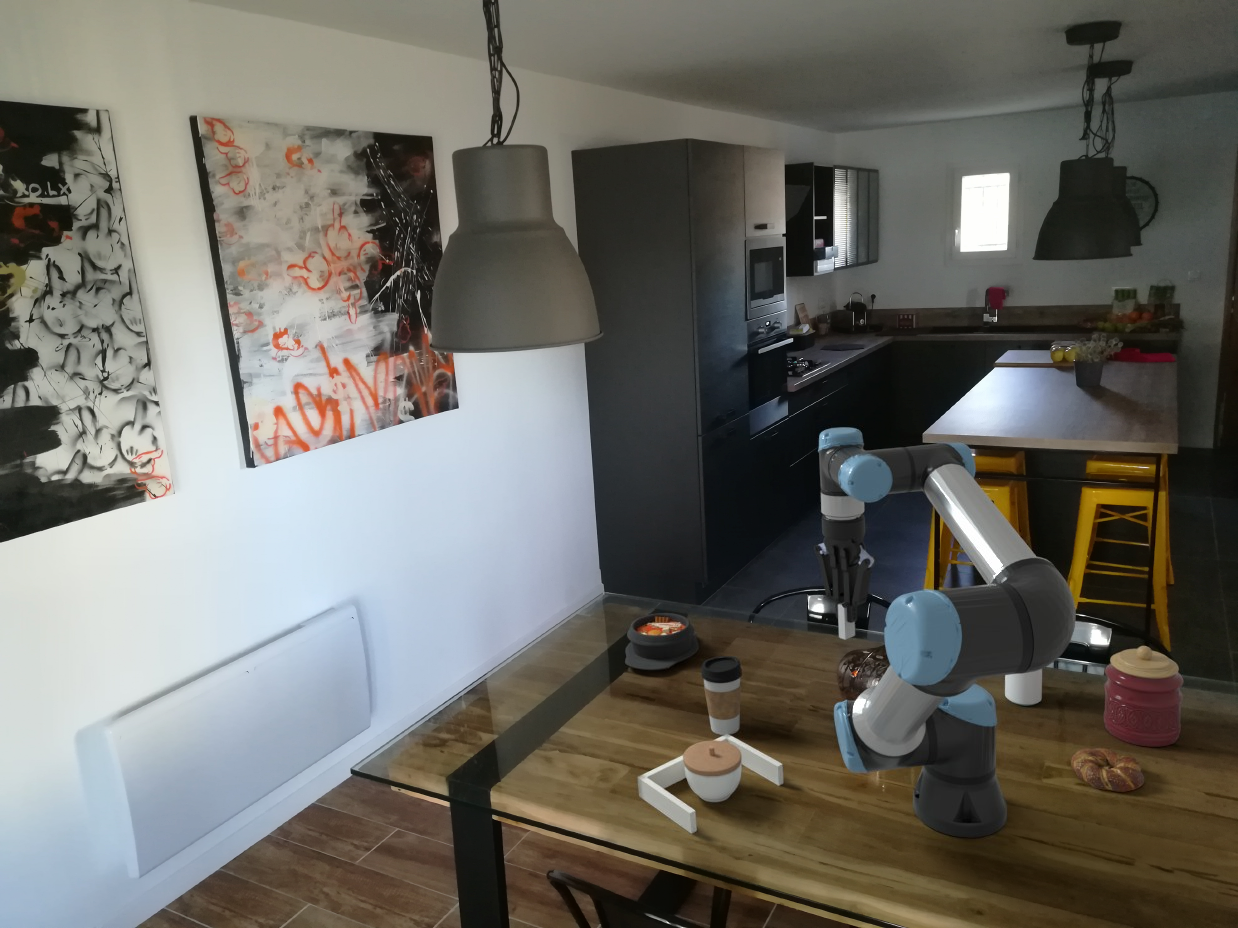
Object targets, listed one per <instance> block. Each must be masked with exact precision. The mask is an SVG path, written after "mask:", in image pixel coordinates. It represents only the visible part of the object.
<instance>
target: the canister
mask: <svg viewBox="0 0 1238 928" xmlns="http://www.w3.org/2000/svg"><path fill="white" fill-rule="evenodd" d="M1109 661H1110V663H1109V664H1108V665H1107V666H1106V667H1105V668H1104V669H1105V670H1104V674H1105V675H1106V677H1107V681H1106V682H1105V683H1104V687H1103V688H1104V690H1105V691H1104V692H1105V695H1104V696H1105V697H1104V712H1103V723H1104V727H1105V730H1107V732H1109V734H1110V735H1112V736H1113V737H1114V738H1117V739H1119V740H1120V741H1123V742H1126V743H1129V744H1132V745H1137V746H1141V747H1150V748H1151V747H1152V748H1155V747H1156V748H1157V747H1160V748H1161V747H1166V746H1170V745H1172V744H1174V743H1176V742H1177V741H1178V739H1179V736H1180V734H1181V730H1182V729H1181V727H1182V724H1181V709H1182V702H1183V699H1184V697H1183V693H1182V692H1181V690H1180V688H1181V687H1182V686H1183V685H1184V679H1183V677H1182V675H1181V673H1179V670H1180V669H1179V665H1178V664H1177V663H1176V662H1175V661H1174V660H1173V659H1171V658H1169V657H1168V656H1166V655H1165V654H1163V653H1161V652H1159V651H1155V650H1152V649H1151V648H1150V647H1149V646H1146V645H1141V646H1138V647H1137V648H1129V649H1124V650H1122V651H1120V652H1117V653H1115V654H1113V655H1112V656H1111V657H1110V660H1109Z"/></svg>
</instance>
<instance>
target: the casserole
mask: <svg viewBox="0 0 1238 928" xmlns="http://www.w3.org/2000/svg"><path fill="white" fill-rule="evenodd" d="M626 637H627V638H628V640H629V641H630V642H629V643H628V644H627V646H626V647H625V651H624V652H625V656H626V657H625V660H624V663H625V665H626V666H628V667H630V668H633V669H638V670H643V671H644V670H645V671H661V670H667V669H669V668H671V667H673V666H675V665H676V664H677V663H679V662H683V661H685V660H686V659H690V658H691V657H693V656H694V655H695V654H696V653H697V652H698V650H699V648H700V645H699V643H698V639H697V637H698V634H697V633H696V632H695V628H694V626H693V625H692V624H691V622H690V620H689V619H688V618H687V617H685V616H684V615H681V614H678V613H671V612H670V613H668V612H664V613H663V612H662V613H661V612H660V613H659V612H658V613H652V614H646V615H643V616H641V617H639V618H636V619H635V620H633V621H632V622H631V624H630V627H629V630H628V631H627V634H626Z"/></svg>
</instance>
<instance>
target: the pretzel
mask: <svg viewBox="0 0 1238 928" xmlns="http://www.w3.org/2000/svg"><path fill="white" fill-rule="evenodd" d="M1070 765H1071V768H1072V770H1073V771H1074V772H1075V773H1076V774H1075V775H1076V776H1077V777H1078V779H1080V780H1081V781H1082V782H1084V783H1088V784H1089V785H1090V786H1091V787H1093V788H1095V789H1098V790H1104V791H1113V792H1118V793H1119V792H1120V793H1121V792H1124V793H1125V792H1129V791H1132V790H1133V791H1134V790H1138V788H1140V787H1141V786H1143V784H1145V776H1144V775H1143V774H1144V773H1142V772H1141V771H1142V766H1141V764H1140V761H1138V760H1136V758H1134V757H1132V756H1129V755H1121V756H1120V755H1119V753H1118V752H1115V751H1113V750H1112V749H1108V748H1104V747H1101V748H1081V749H1079V750H1078V751H1076V752H1075V753H1074V754H1073V755H1072V757H1071V761H1070Z"/></svg>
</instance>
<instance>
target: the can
mask: <svg viewBox="0 0 1238 928" xmlns="http://www.w3.org/2000/svg"><path fill="white" fill-rule="evenodd" d="M1004 676H1005V677H1004V679H1005V680H1004V695H1005V698H1007V700H1009V701H1010V702H1012V703H1013V704H1015V705H1019V706H1024V707H1025V706H1026V707H1027V706H1034V705H1036V704H1038V703H1039V702H1041V701H1042V697H1043V696H1042V695H1043V693H1042V689H1043V688H1042V687H1043V685H1042V683H1043V668H1042V669H1040V670H1037V671H1034V672H1029V673H1022V674H1011V675H1004Z"/></svg>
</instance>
